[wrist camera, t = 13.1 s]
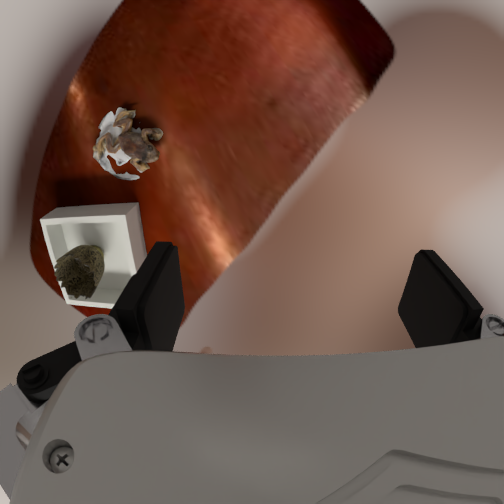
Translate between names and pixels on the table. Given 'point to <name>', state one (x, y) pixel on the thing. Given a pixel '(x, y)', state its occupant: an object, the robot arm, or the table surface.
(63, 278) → the embossed bronze vase
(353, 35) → the table surface
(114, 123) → the frog figurine
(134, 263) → the bin
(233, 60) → the table surface
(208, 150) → the table surface
